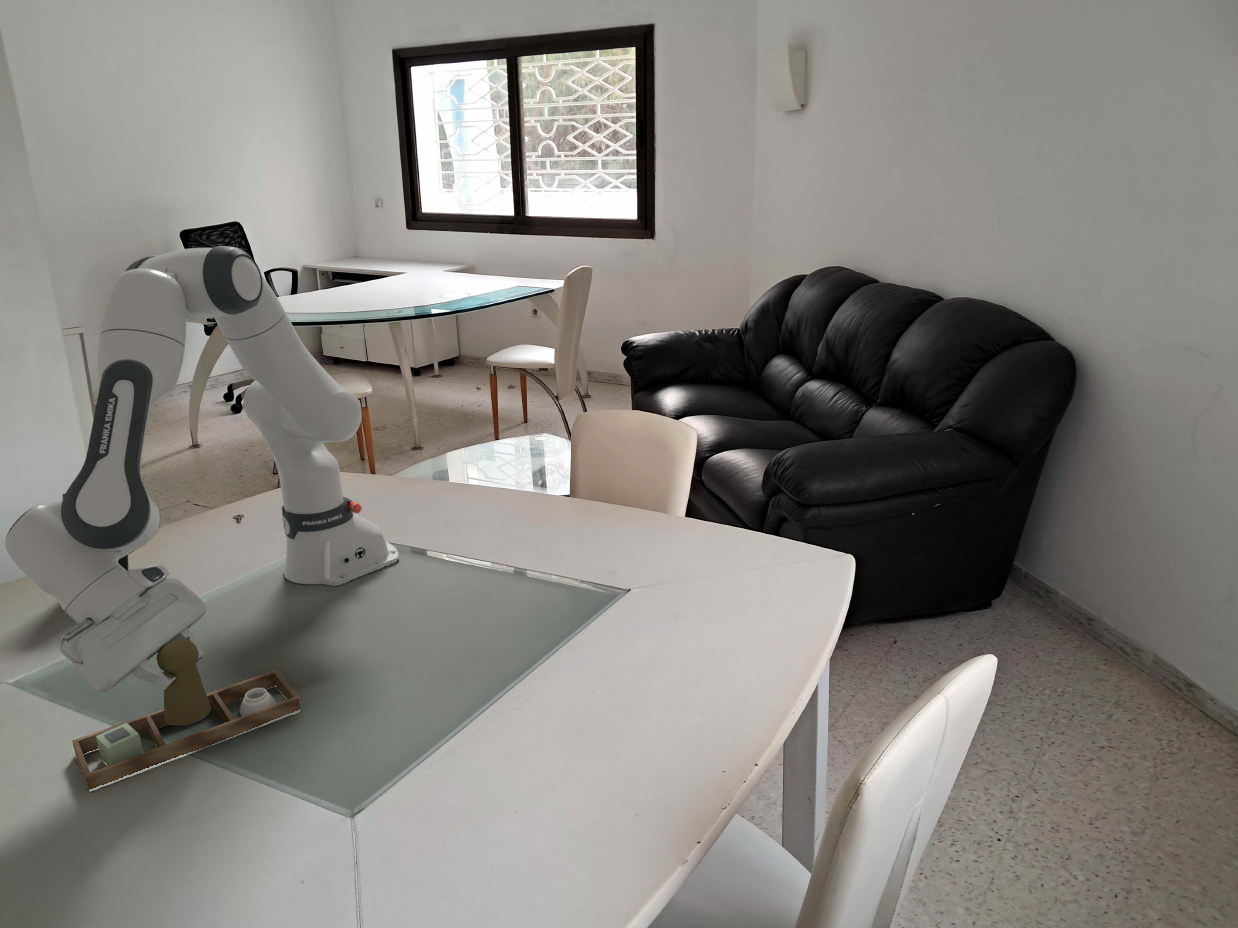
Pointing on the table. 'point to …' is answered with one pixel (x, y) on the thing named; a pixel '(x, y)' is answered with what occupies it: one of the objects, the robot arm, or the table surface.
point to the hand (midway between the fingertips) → (184, 672)
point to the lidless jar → (256, 701)
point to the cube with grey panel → (119, 744)
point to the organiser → (194, 741)
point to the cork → (183, 684)
